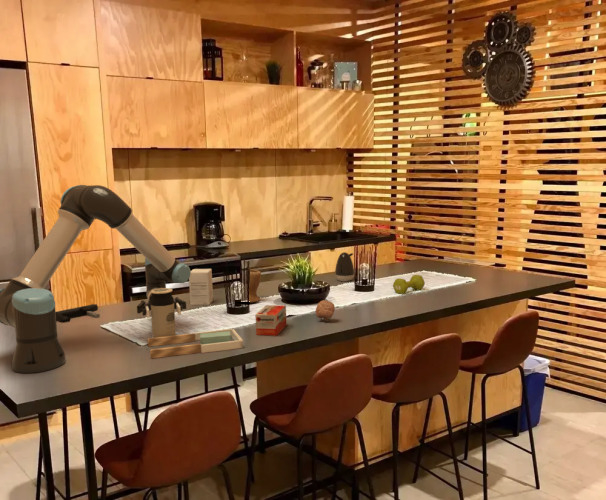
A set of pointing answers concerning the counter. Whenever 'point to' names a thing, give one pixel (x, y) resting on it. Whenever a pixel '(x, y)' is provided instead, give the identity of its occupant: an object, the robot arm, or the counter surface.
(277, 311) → the medicine box
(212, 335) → the chip
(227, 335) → the chip
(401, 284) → the dumbbell
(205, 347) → the tray
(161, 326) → the travel mug
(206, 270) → the supplement box
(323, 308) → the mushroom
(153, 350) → the slot rails
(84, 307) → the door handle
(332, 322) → the counter surface
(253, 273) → the brown boot
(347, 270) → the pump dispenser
